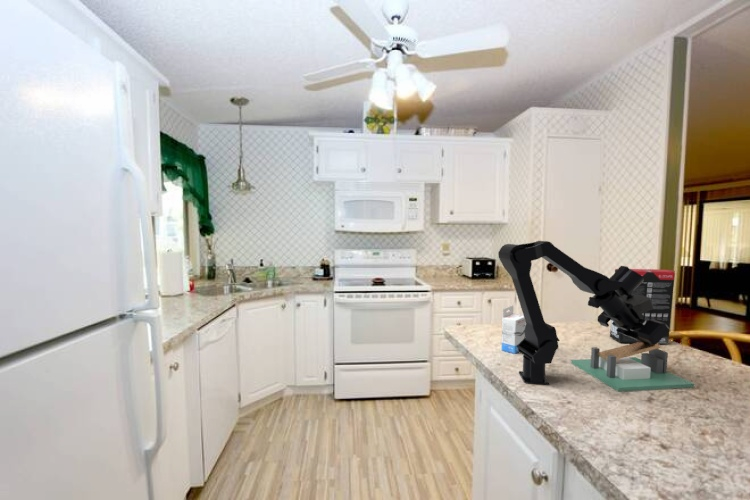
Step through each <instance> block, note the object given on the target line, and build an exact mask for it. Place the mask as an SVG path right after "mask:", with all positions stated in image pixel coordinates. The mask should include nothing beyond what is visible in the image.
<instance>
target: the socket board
mask: <svg viewBox="0 0 750 500" xmlns="http://www.w3.org/2000/svg"><path fill="white" fill-rule="evenodd" d="M598 352H601V351H600V348H599V347H597V346H596V347H595V346H593V347H591V351H590V358H585V359H570V362H571V363H570V364H572V365H573V366H575V367H577V368H579V369H580V370H582V371H584V372H585V373H587V374H588V375H590V376H592V377H593V378H594V379H597V380H598V379H599V380H598V381H600V382H602V383H604V384H605V385H607V386H608V387H610V388H612V389H613V390H615V391H617V392H633V391H650V390H651V391H653V390H668V389H669V390H670V389H671V390H673V389H683V388H686V389H689V388H695V382H692V381H689V380H688V379H685V378H683V377H681V376H679V375H676V374H674V373H672V372H669V371H667V370H668V369H667V368H668V354H669V353H668V352H667V351H664V350H663V349H662V350H661V348H658V349H655V350H651V351H648V352H643V353H640V354H641V356H640V358H638V357H636V356H628V357H624V358H620V359H616V356H614V355H607V360H605V359H603V358H601V357H599V356H598Z"/></svg>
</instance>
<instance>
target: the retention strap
mask: <svg viewBox="0 0 750 500" xmlns="http://www.w3.org/2000/svg"><path fill="white" fill-rule="evenodd" d="M655 349H661V344H658V343H657V344H654V345H652V344H650V343H649V344H648V345H646V344H644V343H641V342H637V343H628V344H626V345H621V346H618V347H614V348H610V349H606V350H602V351H599V352H598V356H599V357H601V358H603V359H605V360H607V355H614V356H616V359H620V358H624V357H633V356H635V355H639V354H641V353H648V352H649V351H651V350H655Z"/></svg>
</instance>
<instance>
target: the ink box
mask: <svg viewBox="0 0 750 500" xmlns="http://www.w3.org/2000/svg"><path fill="white" fill-rule="evenodd" d="M514 309H515V308H514V305H510V306H507V307H505V308H503V311H502V321H501V323H502V324H501V351H503V352H507V353H511V354H514V355H516V354H517V353H519V351H518V348H517V345H518V344H519V343H520V342H521V341H522V340H523V339H524V338H525V332H524V330H525V326H526V321H525V318H524V315H523V314H519V313H514ZM508 310H509V311H508Z"/></svg>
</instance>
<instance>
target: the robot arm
mask: <svg viewBox="0 0 750 500" xmlns="http://www.w3.org/2000/svg"><path fill="white" fill-rule="evenodd" d="M497 254H498V259H499V261H500V263H501V265H502V267H503V268H504V270H505V271H506V272H507V273H508V274H509V276H510V277H511V280H512V283H513V286H514V289H515V292H516V296H517V299H518V302H519V305H520V308H521V311H522V315H524V318H525V321H526V326H525V330H524V332H525V338H524V339H523V340H522V341H521V342H520V343H519V344H518V345H517V348H518V351H519V352H518V353H519V354H521V355H522V371H521V370H519V371H518V374H519V376H520V377H521V379H522V381H523V382H524V383H526V384H537V385H538V384H539V385H550V381H549V380H548V378H547V377H546V364H552V361H553V359H554V357H555V354H556V352H557V350H558V349H559V342H560V339H559V337H558V334H557V330H556V327H555V326H553V325H551V324H549V323H547V322H546V321H545V319H544V316H543V313H542V310H541V306H540V303H539V300H538V297H537V294H536V290H535V287H534V284H533V281H532V276H531V269H532V261H536V260H539V259H543V260H545V261H546V262H548V263H550V264H551V265H553V267H555V268H556V269H558V270H559V271H561V272H563V273H564V274H565V275H567V276H568V277H569V278H570V279H571V281H572V283H573V284H574V285H575V286H576V287H577V288H578V290H580V291H582V292H583V293H584V292H585V293H588V294H592V295H593V296H590V297H588V302H587V306H589V307H591V308H596V309H599V308H601V310H602V312H600V314H599V315H597V322H598V323H599V324H600V325H601V326H603V327H606V328H609V326H610V324H609V322H611V320H612V321H613V323H612V324H613V325H614V326H615V327H617V328H618V329H617V330H616V331H617V332H619V333H622V334H624V335H626V336H628V337H630V338H633V339H635V340H637V341H639V342H641V343H644V344H646V345H648V344H649V343H650V344H652V345H654V344H657V343H658V342H659V341H660V340H661V339H662V338H663V337H664V336H665V335H666V334H667V333H668V332H669V333H670V331H671V329H669V327H668V326H667V325H666V324H665V323H662V322H659V321H656V320H648V321H647V322H646V320H643V319H642V318H643V317H644V315H643V313H645V312H647V311H649V310H652V309H654V307H653V304H652V301H651V299H650V298H649V297H645V296H641V295H633V296H632V295H631V293H632V292H633V291H634V290H635V289H636V288H637V287H638V286H639V285H640V284H641V283H642V282H643V281H644V279H643V277H642V276H641V275H640V274H638V273H636V272H635V271H633V270H631V269H632V268H629V266H626V265H620V266H619V267H618V268H617V269H618V270H617V271H616V272H615V271H614V274H613V275H611V276H610V277H608V275H605V274H602V273H601V272H598V271H596V270H594V269H590V268H587V267H585V266H583V265H582V264H580V263H579V262H578V261H576V260H575V259H574V258H572V257H571V256H569V255H568V254H566V253H565V252H564V251H562V250H561V249H559V248H558V247H557V246H555V245H554V244H553V243H552V242H551V241H548V240H536V241H534V242H528V243H522V244H521V243H520V244H514V243H505V244H504V245H502V246H501V247H500V249H499V251H498V253H497ZM619 295H621V296H622V298H621V297H620V296H619Z"/></svg>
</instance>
